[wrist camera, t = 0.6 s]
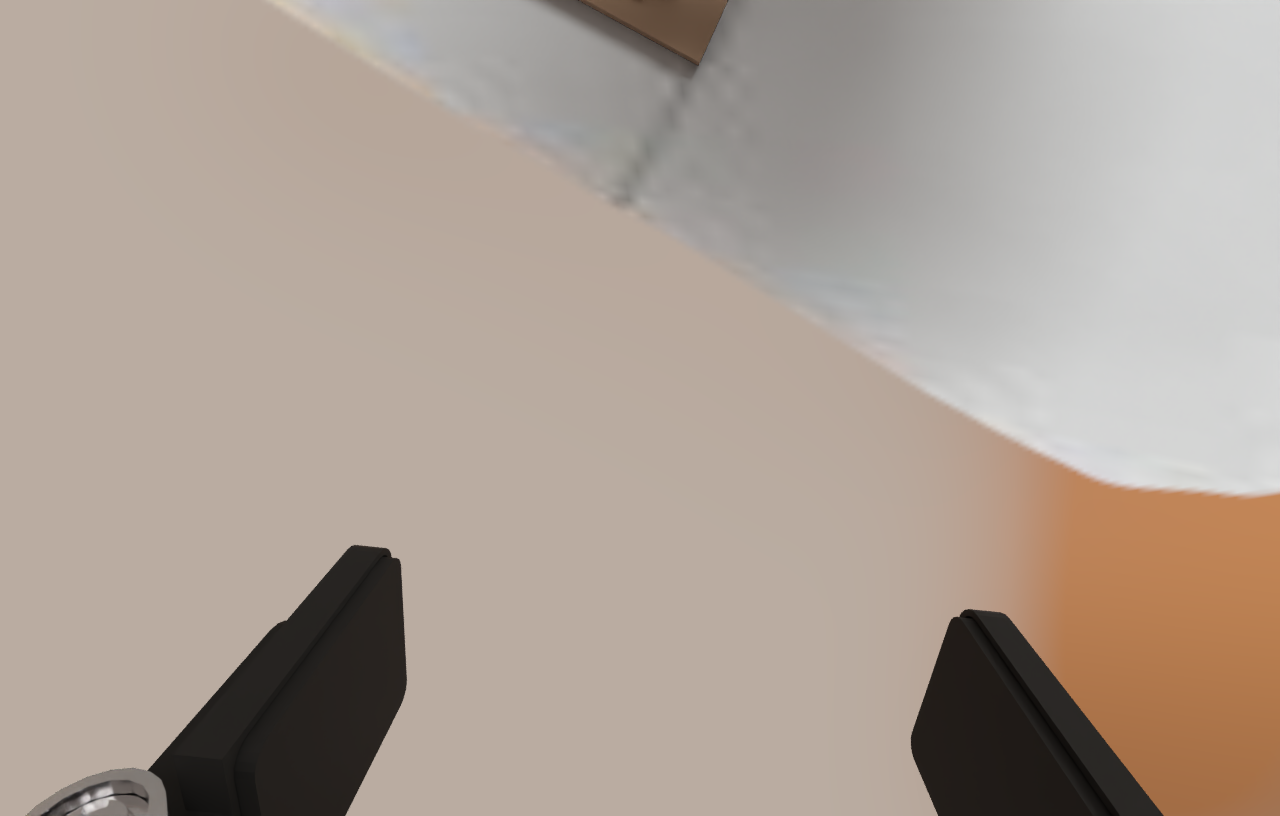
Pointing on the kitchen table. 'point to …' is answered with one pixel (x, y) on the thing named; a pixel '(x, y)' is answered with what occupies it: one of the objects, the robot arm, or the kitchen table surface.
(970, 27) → the kitchen table surface
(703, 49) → the socket board
